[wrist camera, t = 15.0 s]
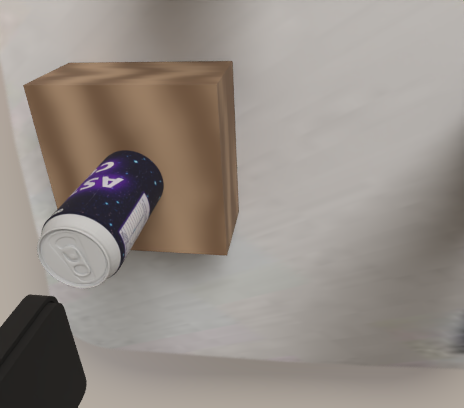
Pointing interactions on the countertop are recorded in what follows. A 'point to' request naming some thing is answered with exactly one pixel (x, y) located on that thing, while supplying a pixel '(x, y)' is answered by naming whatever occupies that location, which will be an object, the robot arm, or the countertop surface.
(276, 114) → the countertop surface
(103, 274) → the beverage can
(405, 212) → the countertop surface
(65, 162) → the walnut block
